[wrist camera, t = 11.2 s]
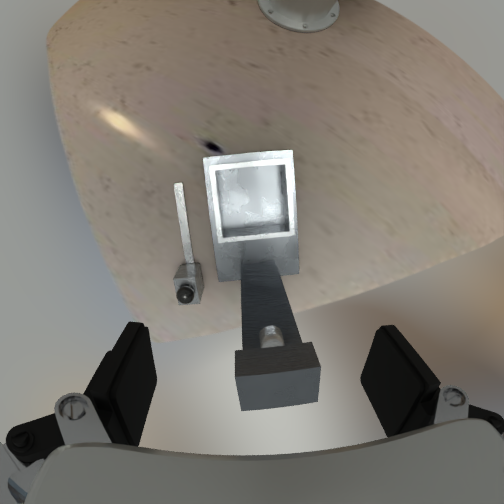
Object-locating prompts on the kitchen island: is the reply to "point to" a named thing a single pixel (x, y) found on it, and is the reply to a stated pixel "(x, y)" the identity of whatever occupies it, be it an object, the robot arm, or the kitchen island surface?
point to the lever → (188, 284)
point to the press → (259, 272)
